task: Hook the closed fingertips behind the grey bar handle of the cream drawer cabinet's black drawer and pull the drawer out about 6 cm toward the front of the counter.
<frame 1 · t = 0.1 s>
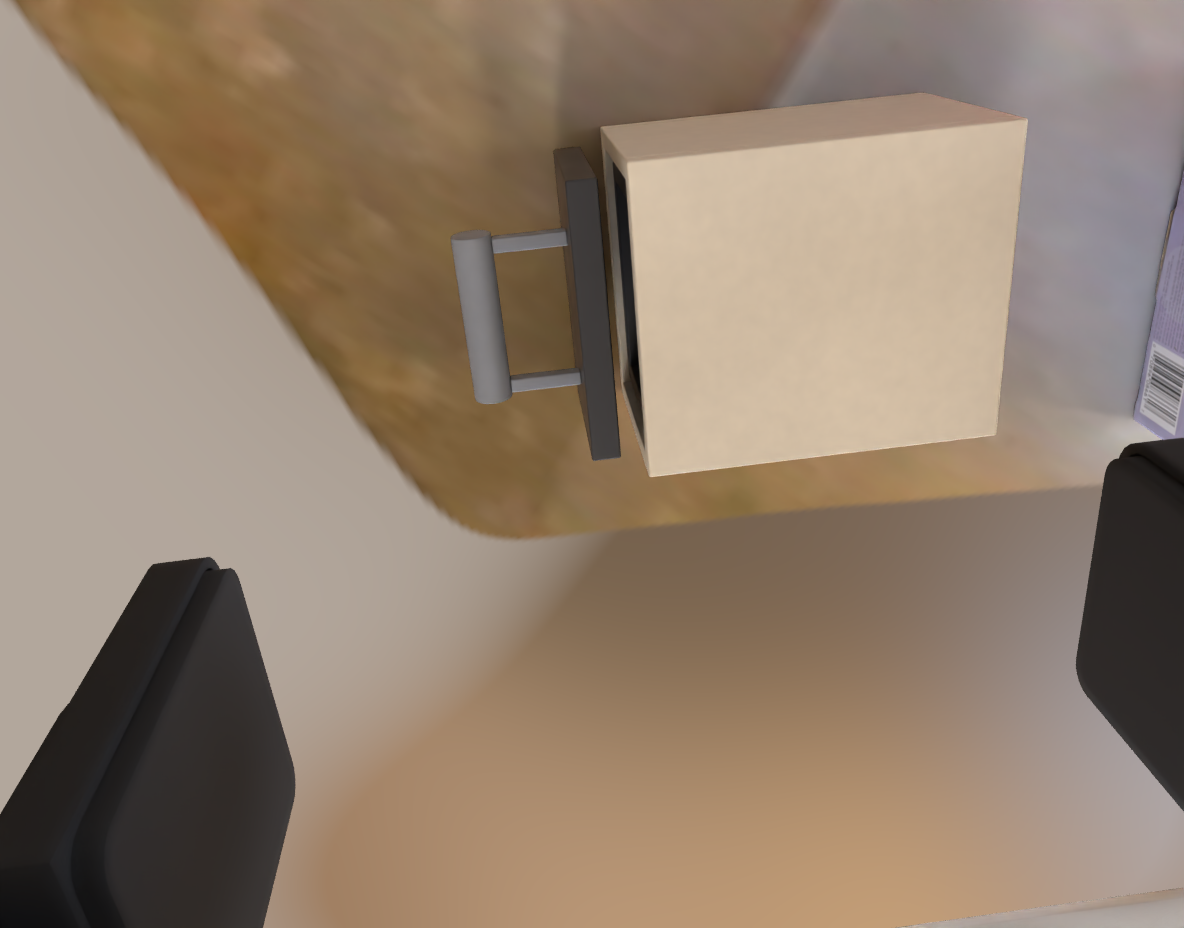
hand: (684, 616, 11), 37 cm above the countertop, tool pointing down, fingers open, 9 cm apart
black drawer: (676, 289, 42), point 5 cm above the countertop, slide at 1.0 cm
cream drawer cabinet: (765, 249, 47), on the countertop
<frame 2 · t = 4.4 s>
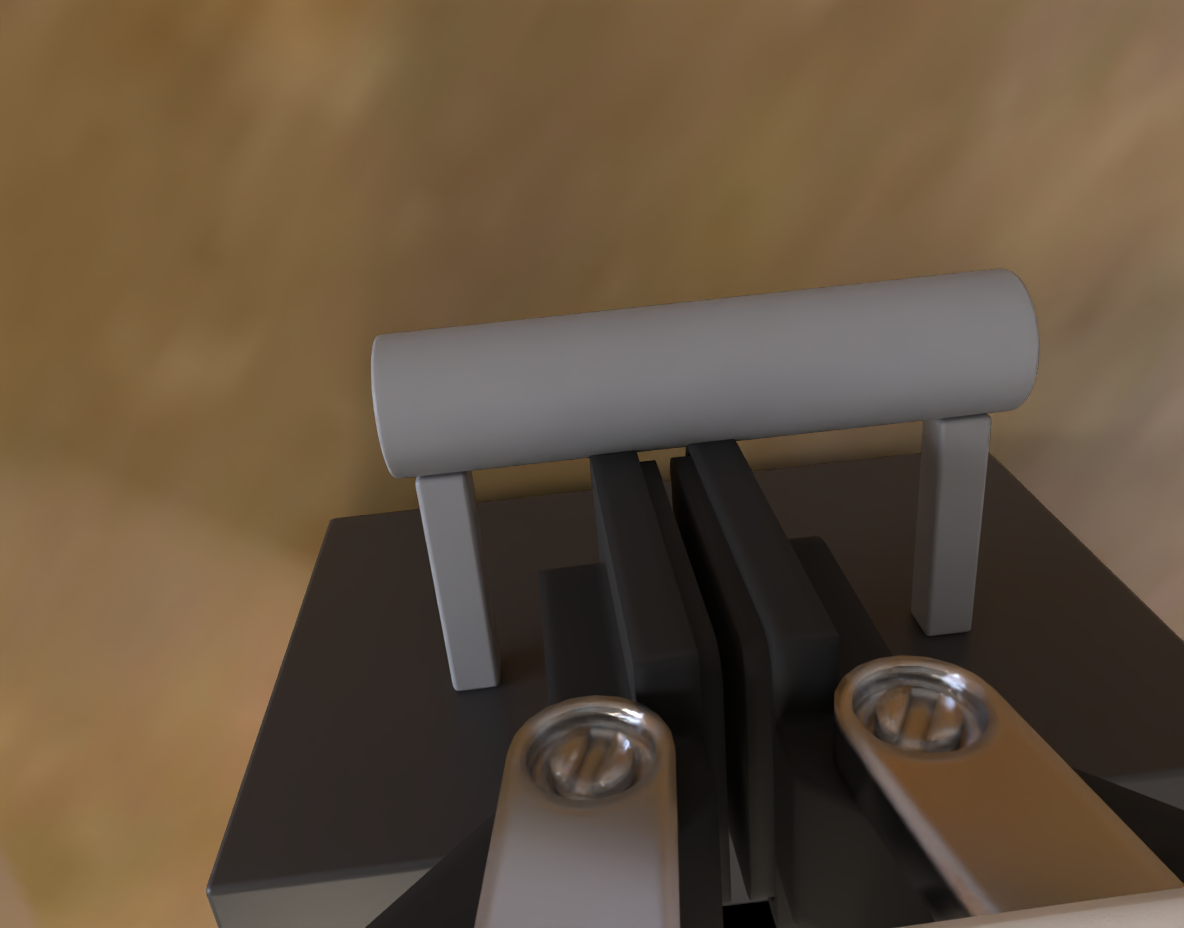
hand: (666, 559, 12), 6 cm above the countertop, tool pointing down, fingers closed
black drawer: (709, 842, 16), point 5 cm above the countertop, slide at 1.4 cm, touching gripper
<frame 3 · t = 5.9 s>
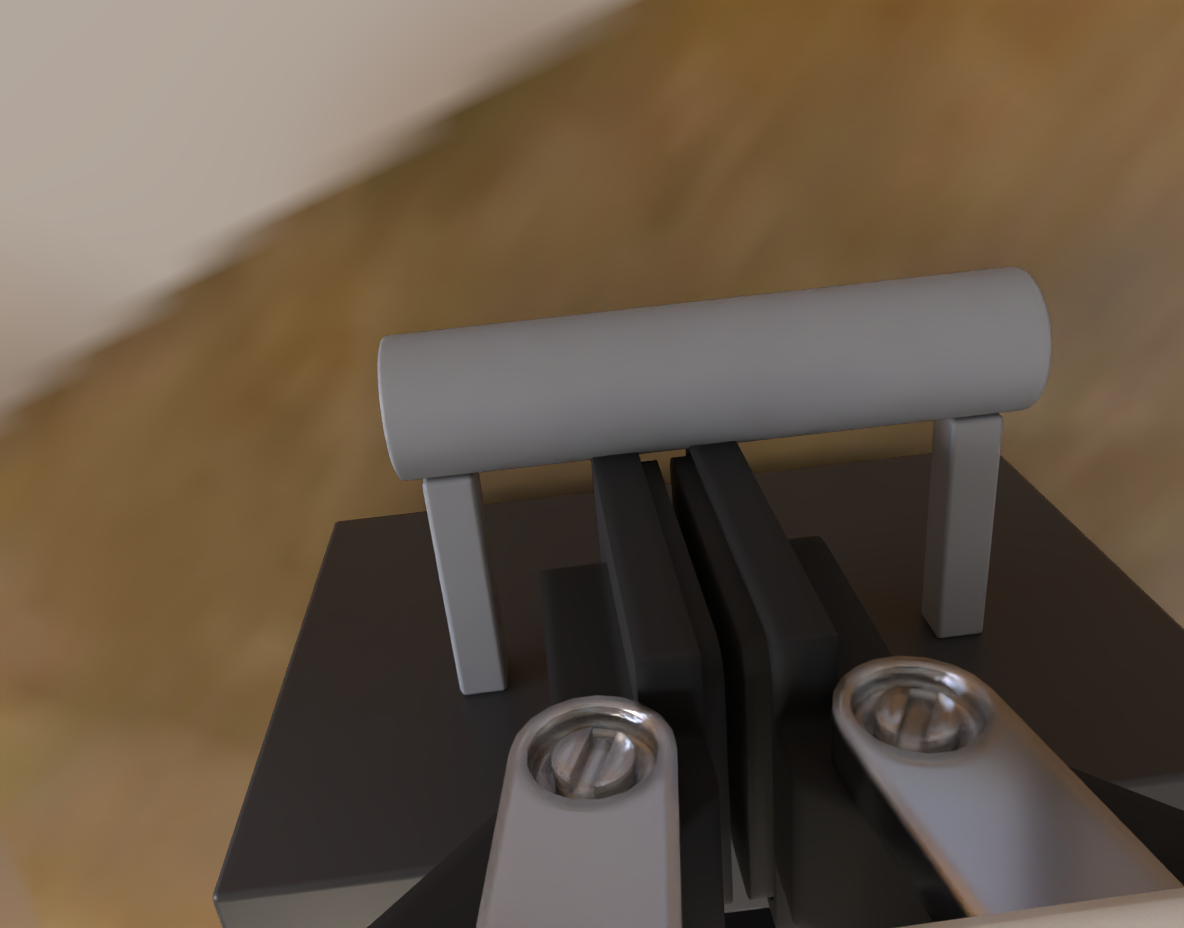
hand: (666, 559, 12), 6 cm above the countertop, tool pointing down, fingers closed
black drawer: (717, 846, 15), point 5 cm above the countertop, slide at 7.1 cm, touching gripper
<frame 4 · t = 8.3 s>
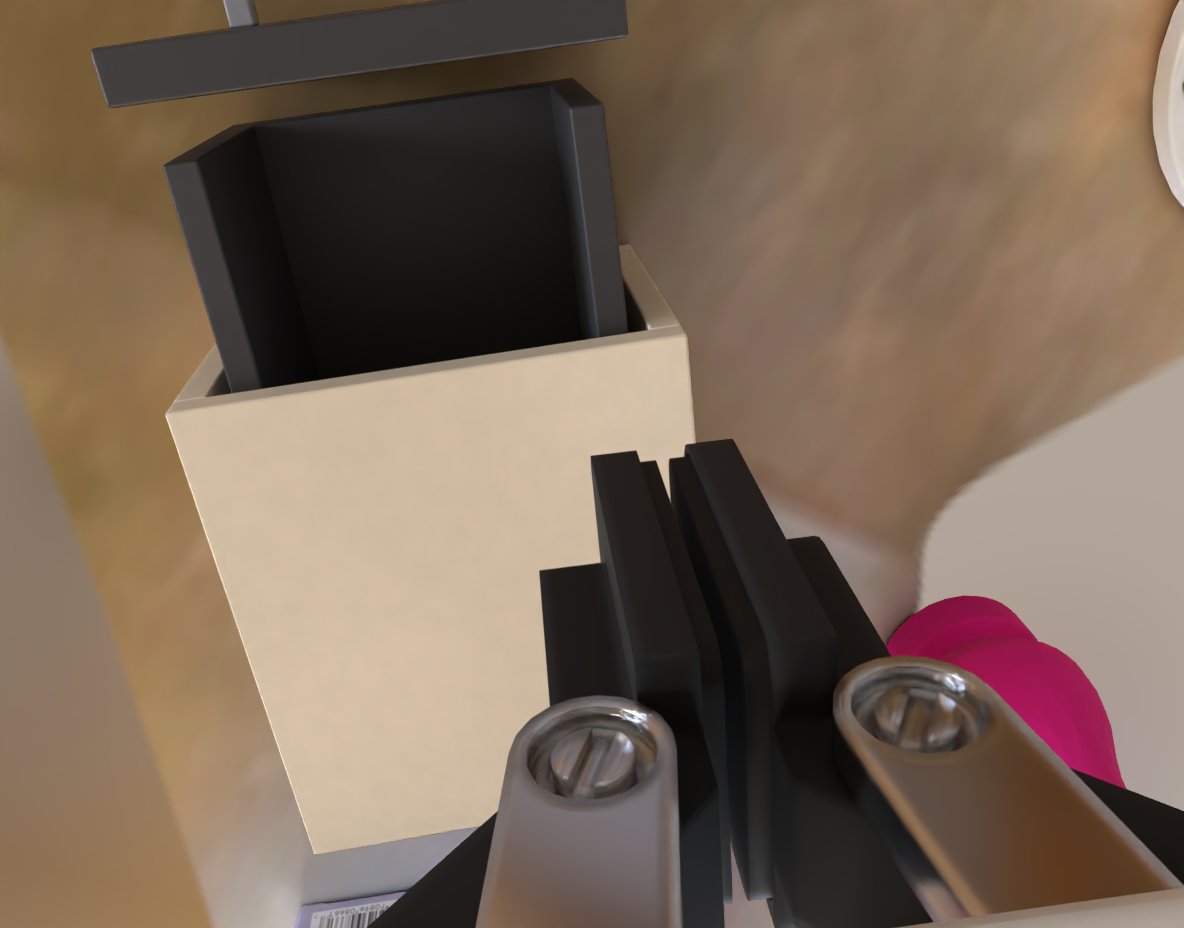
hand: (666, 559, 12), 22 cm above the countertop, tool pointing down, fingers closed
black drawer: (410, 191, 26), point 5 cm above the countertop, slide at 6.7 cm
cream drawer cabinet: (477, 470, 35), on the countertop
cake pan box: (494, 905, 45), on the countertop
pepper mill: (949, 653, 42), on the countertop
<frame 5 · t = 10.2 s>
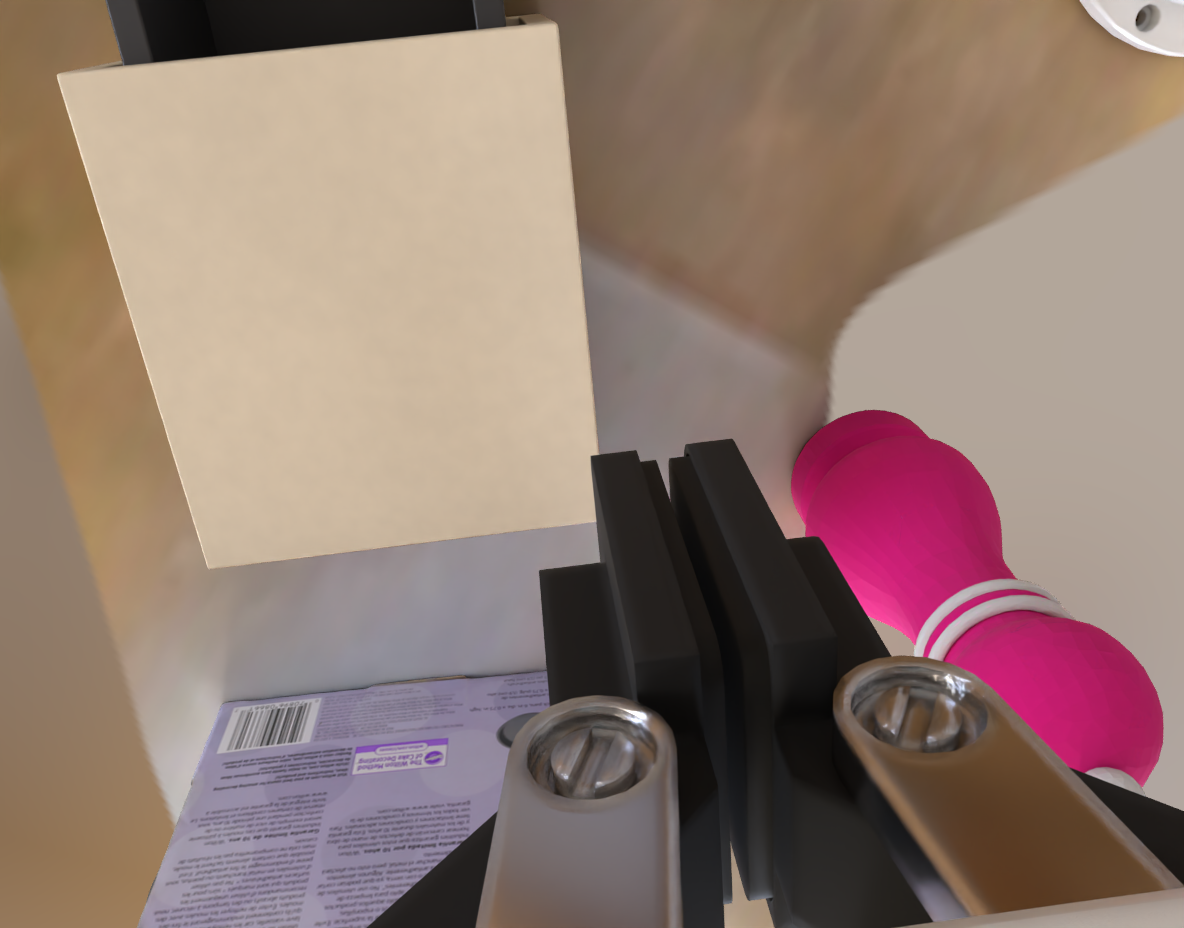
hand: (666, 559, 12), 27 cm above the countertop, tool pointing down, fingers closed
cream drawer cabinet: (394, 245, 37), on the countertop
cake pan box: (414, 716, 46), on the countertop
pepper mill: (859, 473, 43), on the countertop
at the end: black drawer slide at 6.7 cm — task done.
